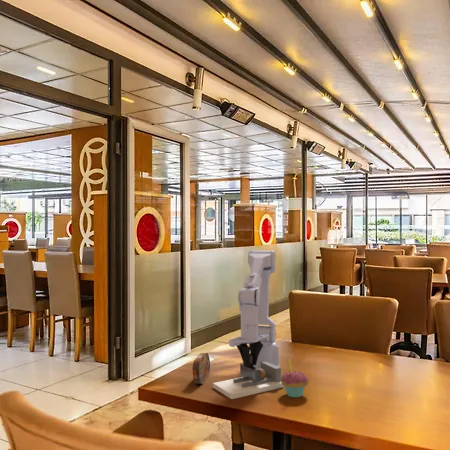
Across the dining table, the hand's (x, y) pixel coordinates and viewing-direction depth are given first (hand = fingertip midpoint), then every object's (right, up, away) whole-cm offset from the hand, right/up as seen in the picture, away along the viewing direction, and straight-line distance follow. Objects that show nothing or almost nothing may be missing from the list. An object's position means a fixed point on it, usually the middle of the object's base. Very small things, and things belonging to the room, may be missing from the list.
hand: (249, 365), depth 152 cm
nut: (+3, -4, +2) cm, 5 cm away
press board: (-1, -7, 0) cm, 7 cm away
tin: (-16, -8, +8) cm, 20 cm away
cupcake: (+14, -7, -7) cm, 17 cm away
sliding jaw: (0, -4, 0) cm, 4 cm away
